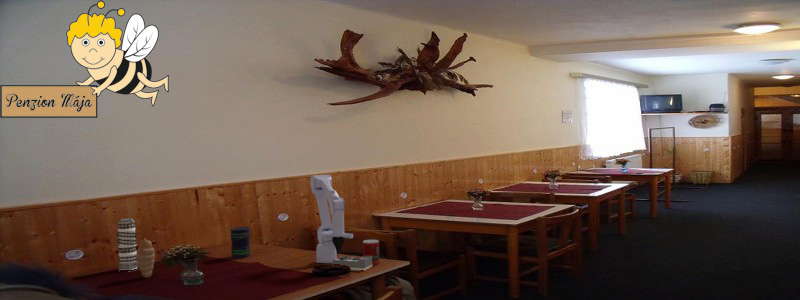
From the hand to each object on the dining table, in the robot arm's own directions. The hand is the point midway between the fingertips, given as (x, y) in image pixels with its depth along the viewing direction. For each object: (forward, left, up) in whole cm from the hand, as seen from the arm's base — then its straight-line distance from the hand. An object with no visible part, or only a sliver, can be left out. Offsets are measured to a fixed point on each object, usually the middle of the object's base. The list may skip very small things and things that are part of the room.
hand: (339, 253), depth 282 cm
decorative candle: (-101, -26, -7) cm, 105 cm away
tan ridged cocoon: (-79, -38, -7) cm, 88 cm away
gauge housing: (+6, 0, -7) cm, 9 cm away
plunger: (+4, -1, -5) cm, 7 cm away
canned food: (+12, +10, -7) cm, 17 cm away
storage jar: (-63, +13, -7) cm, 65 cm away
